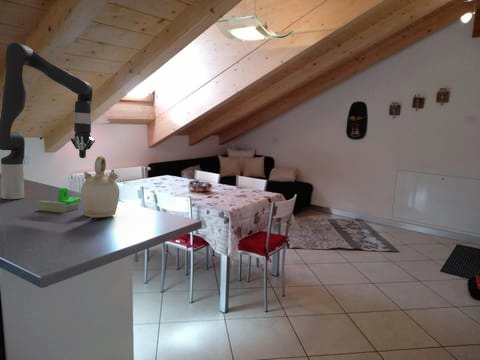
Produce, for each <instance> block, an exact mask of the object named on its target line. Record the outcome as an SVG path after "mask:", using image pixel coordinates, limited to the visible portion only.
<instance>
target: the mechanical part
mask: <svg viewBox="0 0 480 360" xmlns="http://www.w3.org/2000/svg"><path fill="white" fill-rule="evenodd" d="M57 196H58V197H57V199H58V201H57V202H60V203H66V205H71V204H78V203H80V201H81V197H77V196H70V197H69V190H68V188H66V187H60V188H59V190H58V193H57ZM81 202H82V201H81Z"/></svg>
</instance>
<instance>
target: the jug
mask: <svg viewBox="0 0 480 360" xmlns="http://www.w3.org/2000/svg"><path fill="white" fill-rule="evenodd" d="M106 167H107V161H106V158H105V157H104V156H103V155H99V156H97V157H96V158H95V161H94V172H95V175H93V176H92V175H91V173H90V172H88V171H85V172H83V175H84V179H85V181H84V182H83V184H82V186H81V188H80V200H81V204H82V210H83V212H84V213H83V214H84V216H85V217H87V218H88V217H89V218H107V217H112V216H115V215H116V213H117V209H118V205H119V200H120V199H119V198H120V188H119V185H118V183H117V181H116V179H119V175H118V174H117V173H115V172H114V171H110V174H109V176H107V175H106V174H105V172H106V170H107V169H106Z"/></svg>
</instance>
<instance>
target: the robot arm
mask: <svg viewBox="0 0 480 360" xmlns="http://www.w3.org/2000/svg"><path fill="white" fill-rule="evenodd" d="M25 66H28V67H31V68H33V69H35V70H37V71H40V72H41V73H43V74H44V75H45V76H46V77H48V78H49V79H50V80H52V81H53V82H55V83H57V84H59V85H61V86H63V87H65V88H67V89H68V90H69V91H71V92H72V93H75V94H77V100H76V101H75V102H74V115H73V116H74V117H73V121H74V123H73V127H74V128H73V129H74V135H73V136H74V137H72V138H70V141H71V143H72V145H73V146H74V148H75V149H76V150H78V156H79V159H85V158H86V157H87V151H88V150H90V149H91V148H92V147H93V145H94V143H95V142H96V141H95V139H94V138H92V136H91V133H92V116H91V115H92V114H91V109H92V108H91V104H92V98H93V92H94V91H93V87H92V85H91V84H90V83H89V82H87V81H85V80H82V79H80V78H78V77H77V76H75V75H73V74H72V73H71V72H69V71H67V70H65V69H63V68H61V67H60V66H57V65H56V64H54V63H52V62H50V61H49V60H47V59H45V58H44V57H43V56H41V55H40V54H39V53H37V52H36V51H34V50H33V49H32V48H30V46H29V45H25V44H23V43H19V42H11V43H10V44H8V45H7V47H6V49H5V76H4V85H3V93H2V101H1V111H0V151H10V153H8V154H7V155H6V156H3V157H1V158H0V167H1V168H0V169H1V170H0V171H1V178H0V198H1V199H3V200H17V199H18V200H19V199H24V198H25V180H24V179H25V178H24V160H25V147H26V143H25V142H26V141H25V137H24V135H23V133H21V132H20V131H12V127H13V124H14V122H15V120H16V119H17V118H18V116H20V114H21V113H22V112H23V111H24V109H25V105H26V99H27V90H26V87H25V83H24V80H23V71H24V67H25Z"/></svg>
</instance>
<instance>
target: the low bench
mask: <svg viewBox="0 0 480 360" xmlns="http://www.w3.org/2000/svg"><path fill="white" fill-rule="evenodd" d="M78 205H79V204H78V203H75V204H71V205H66V203H60V202H58V201H49V200H39V201H38V208H39V209H38V210H39V211H44V212H53V213H62V214H64V213H68V212H71V211H74V210H79V209H78V207H79V206H78Z"/></svg>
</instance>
